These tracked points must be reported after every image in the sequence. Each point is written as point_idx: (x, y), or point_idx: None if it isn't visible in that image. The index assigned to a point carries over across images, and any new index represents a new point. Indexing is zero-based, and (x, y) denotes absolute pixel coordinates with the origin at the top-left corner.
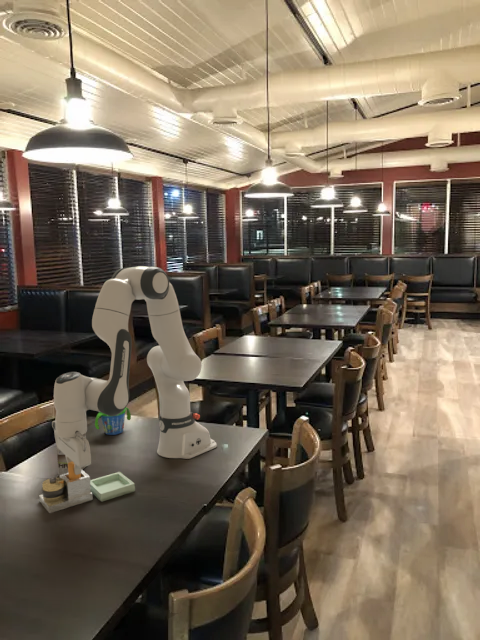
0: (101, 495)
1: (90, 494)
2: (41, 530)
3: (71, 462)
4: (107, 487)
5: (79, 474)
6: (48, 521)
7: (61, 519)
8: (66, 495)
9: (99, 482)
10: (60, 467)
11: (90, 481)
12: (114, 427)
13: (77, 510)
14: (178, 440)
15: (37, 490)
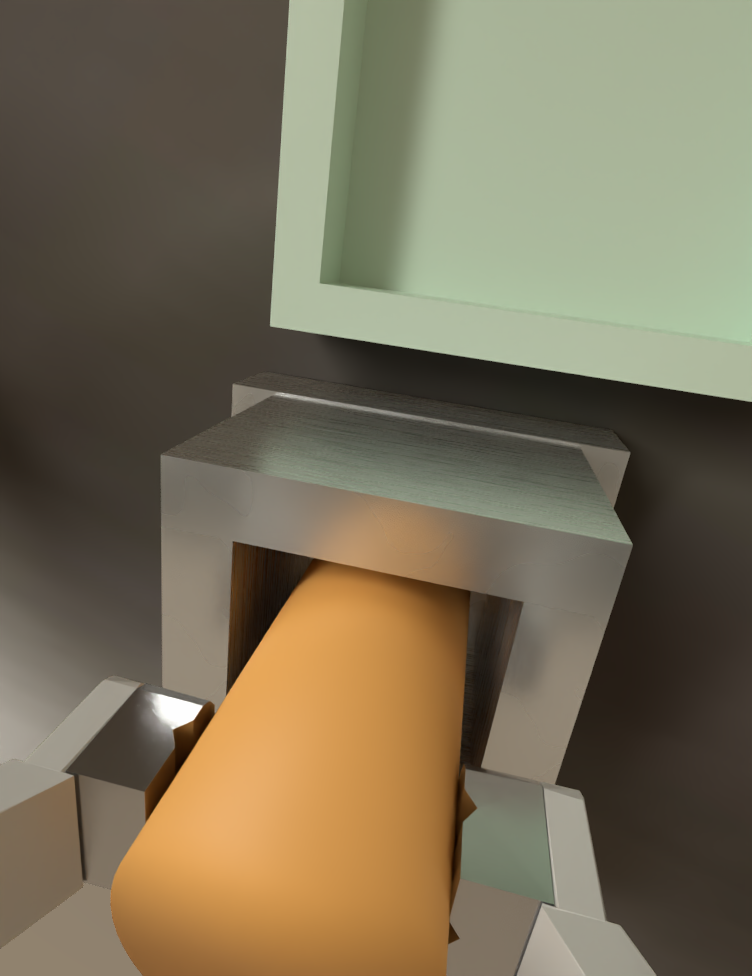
0: None
1: (620, 476)
2: (705, 968)
3: (167, 941)
4: (541, 118)
5: (450, 687)
6: (623, 880)
7: (694, 819)
8: None
9: (346, 149)
10: None
11: (313, 294)
12: None
13: (678, 659)
14: None
15: (36, 654)
